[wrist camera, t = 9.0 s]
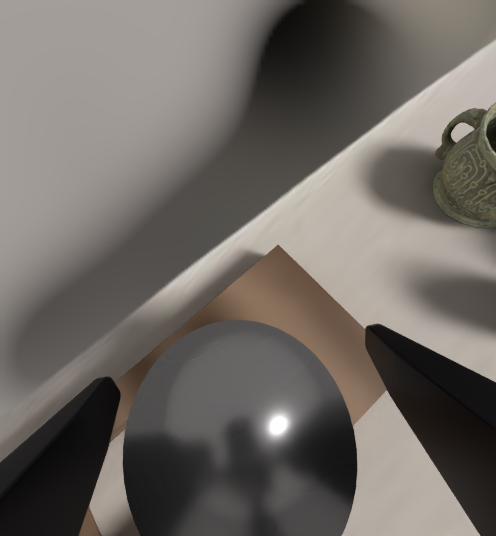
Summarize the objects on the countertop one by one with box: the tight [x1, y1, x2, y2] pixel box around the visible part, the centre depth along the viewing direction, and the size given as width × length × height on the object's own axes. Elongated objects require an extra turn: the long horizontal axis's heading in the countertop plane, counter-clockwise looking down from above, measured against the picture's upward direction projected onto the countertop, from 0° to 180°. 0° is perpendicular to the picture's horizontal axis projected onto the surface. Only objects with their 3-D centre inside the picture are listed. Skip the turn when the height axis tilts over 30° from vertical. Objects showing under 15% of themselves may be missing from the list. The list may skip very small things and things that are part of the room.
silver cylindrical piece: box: [123, 320, 357, 536], centre depth 10 cm, size 5×5×11 cm
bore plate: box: [79, 245, 387, 536], centre depth 16 cm, size 26×12×3 cm, turn 131°
